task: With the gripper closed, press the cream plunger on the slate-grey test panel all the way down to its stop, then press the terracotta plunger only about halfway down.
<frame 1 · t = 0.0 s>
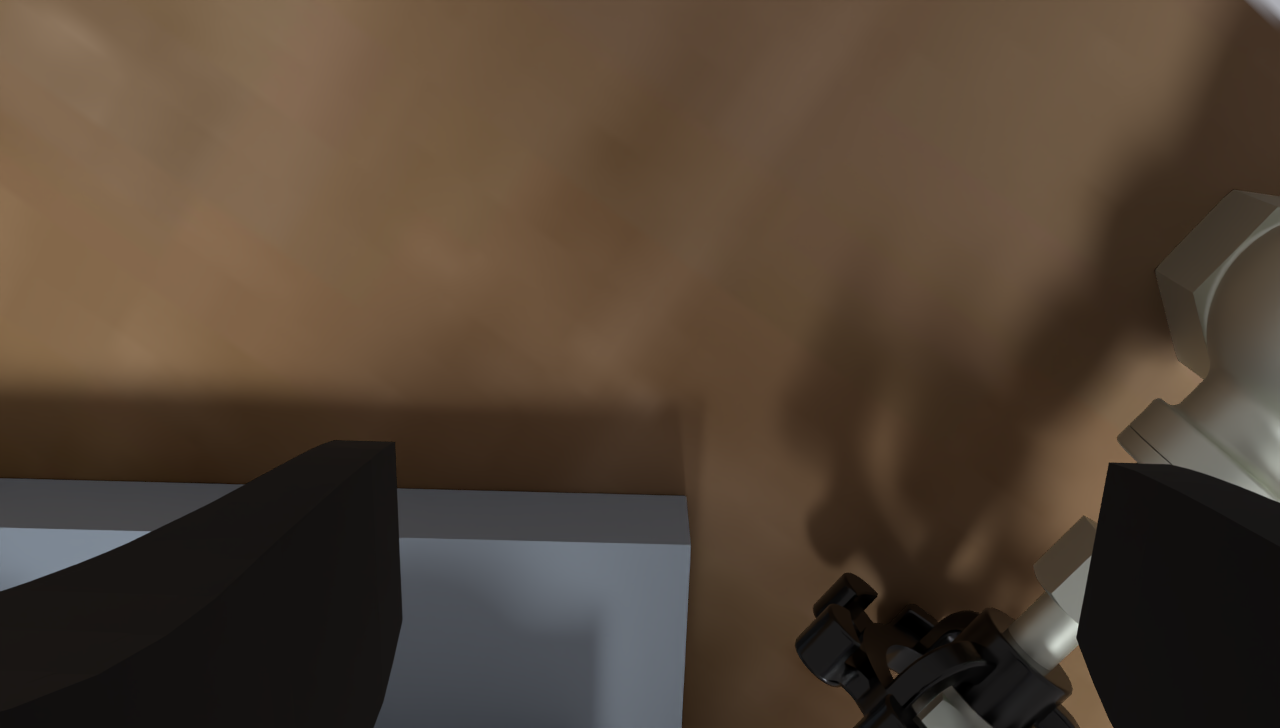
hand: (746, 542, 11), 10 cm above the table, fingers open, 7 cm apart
valve: (1094, 429, 22), on the table
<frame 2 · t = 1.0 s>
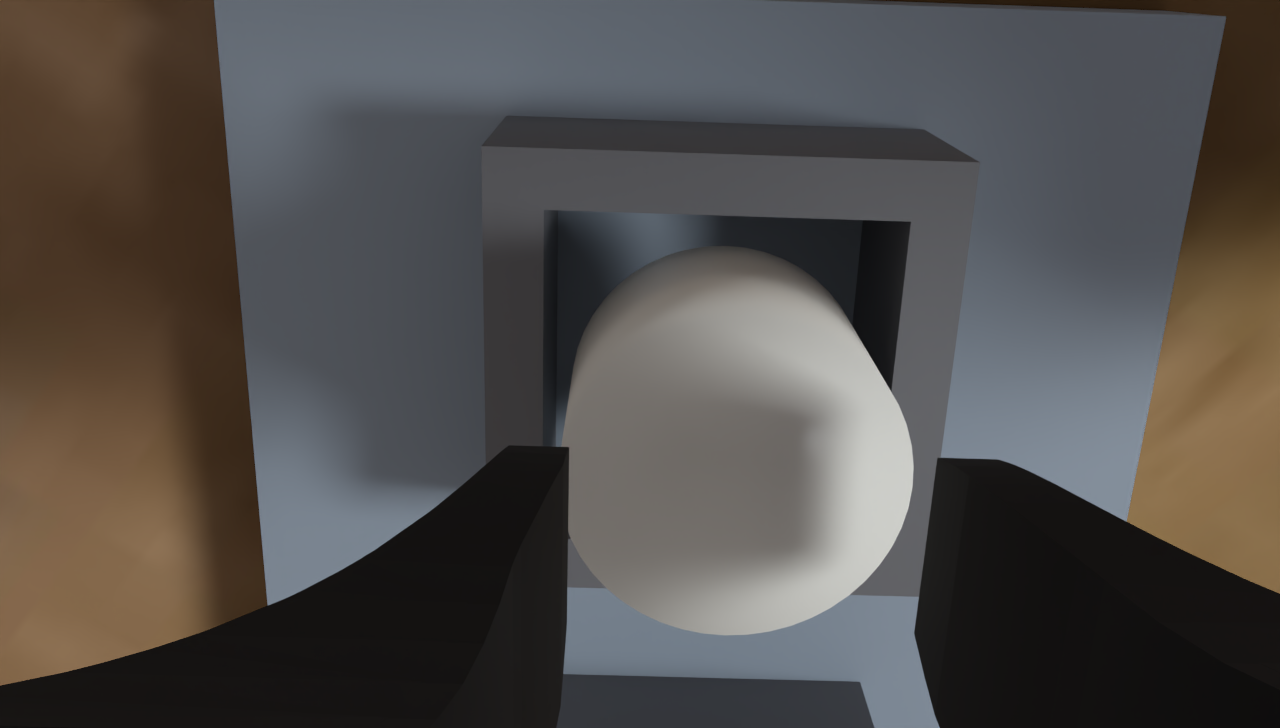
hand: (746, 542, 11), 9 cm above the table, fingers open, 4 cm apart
test panel: (685, 536, 22), on the table
cream plunger: (725, 430, 14), point 7 cm above the table, slide at 0.0 cm
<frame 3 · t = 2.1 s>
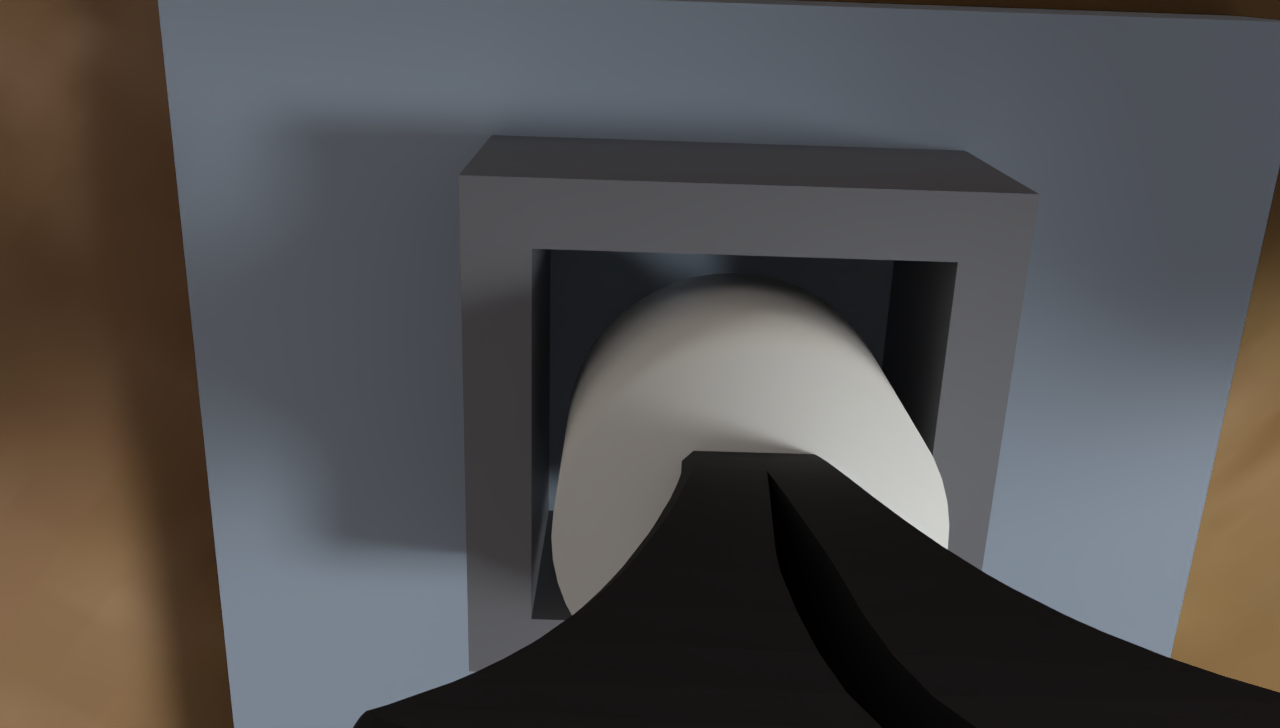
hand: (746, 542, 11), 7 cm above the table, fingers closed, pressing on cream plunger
test panel: (692, 594, 20), on the table
cream plunger: (737, 478, 13), point 6 cm above the table, slide at 0.7 cm, touching gripper
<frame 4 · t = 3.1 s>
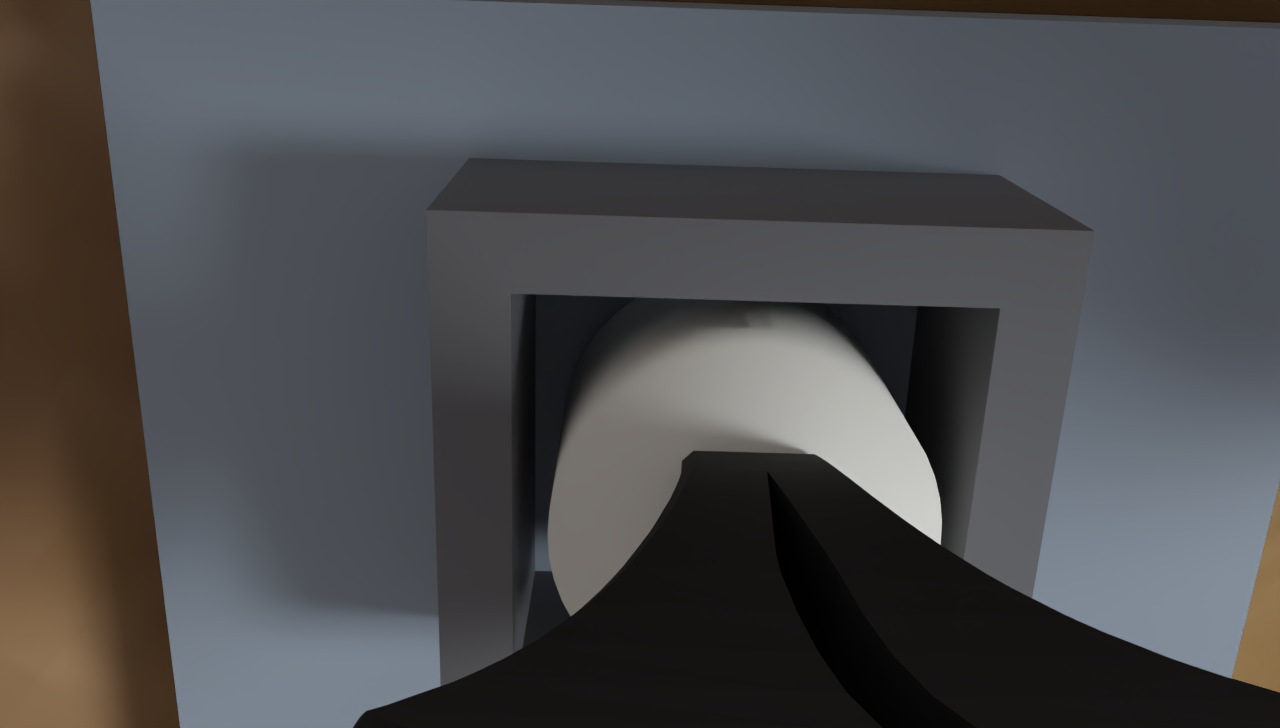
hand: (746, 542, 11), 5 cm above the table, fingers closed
test panel: (693, 653, 18), on the table
cream plunger: (732, 476, 13), point 4 cm above the table, slide at 2.6 cm
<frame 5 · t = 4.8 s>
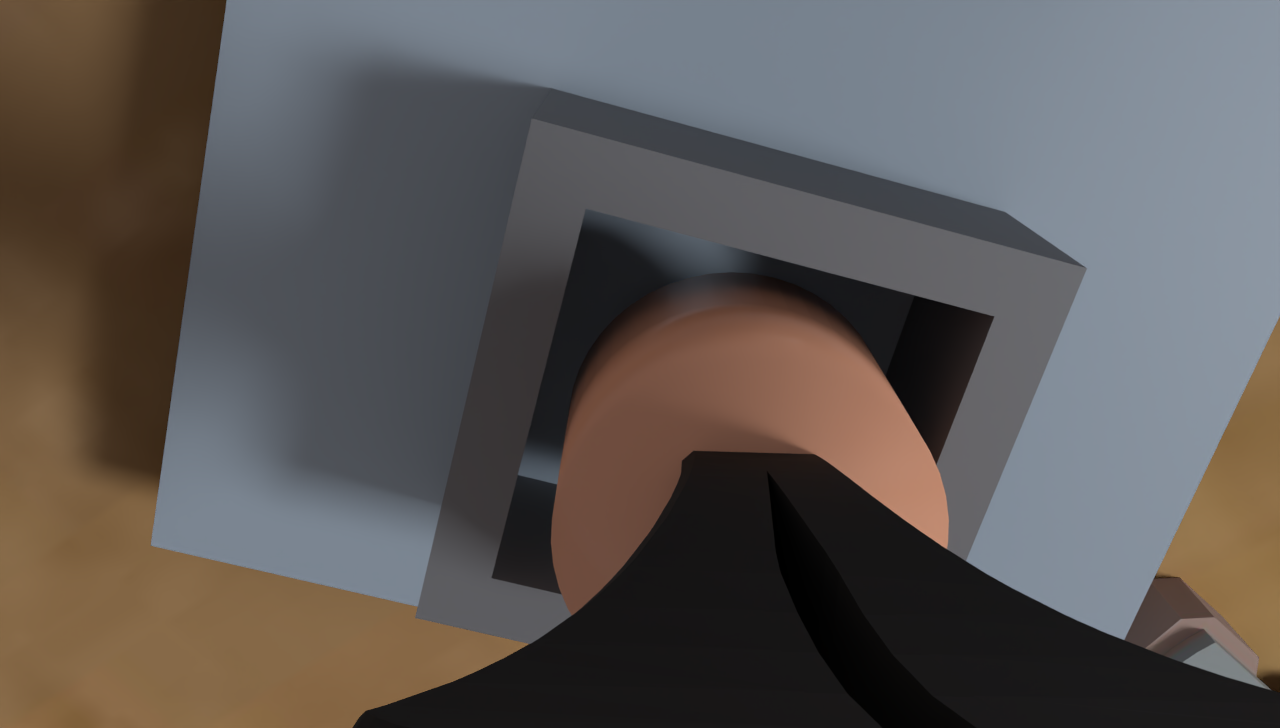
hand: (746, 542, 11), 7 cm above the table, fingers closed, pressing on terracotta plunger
test panel: (803, 9, 17), on the table
terracotta plunger: (737, 478, 13), point 6 cm above the table, slide at 0.8 cm, touching gripper
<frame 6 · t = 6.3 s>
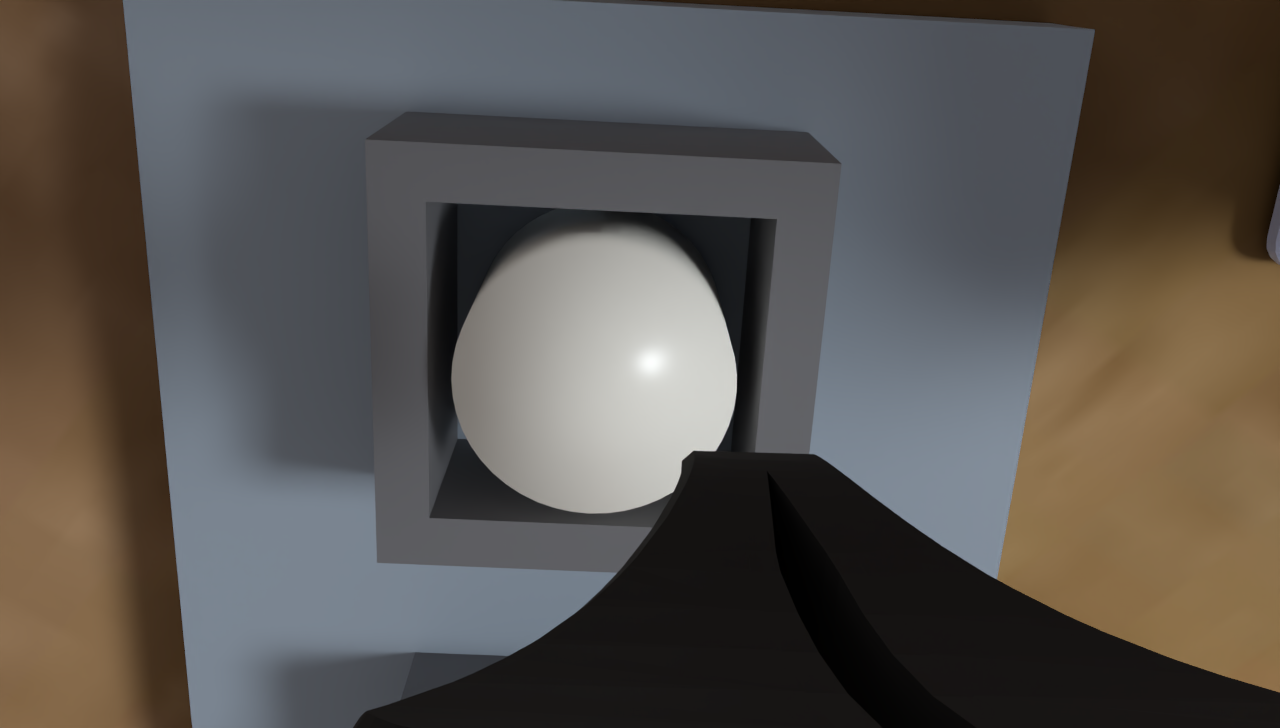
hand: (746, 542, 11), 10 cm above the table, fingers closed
test panel: (592, 523, 23), on the table
cream plunger: (597, 350, 17), point 4 cm above the table, slide at 2.6 cm
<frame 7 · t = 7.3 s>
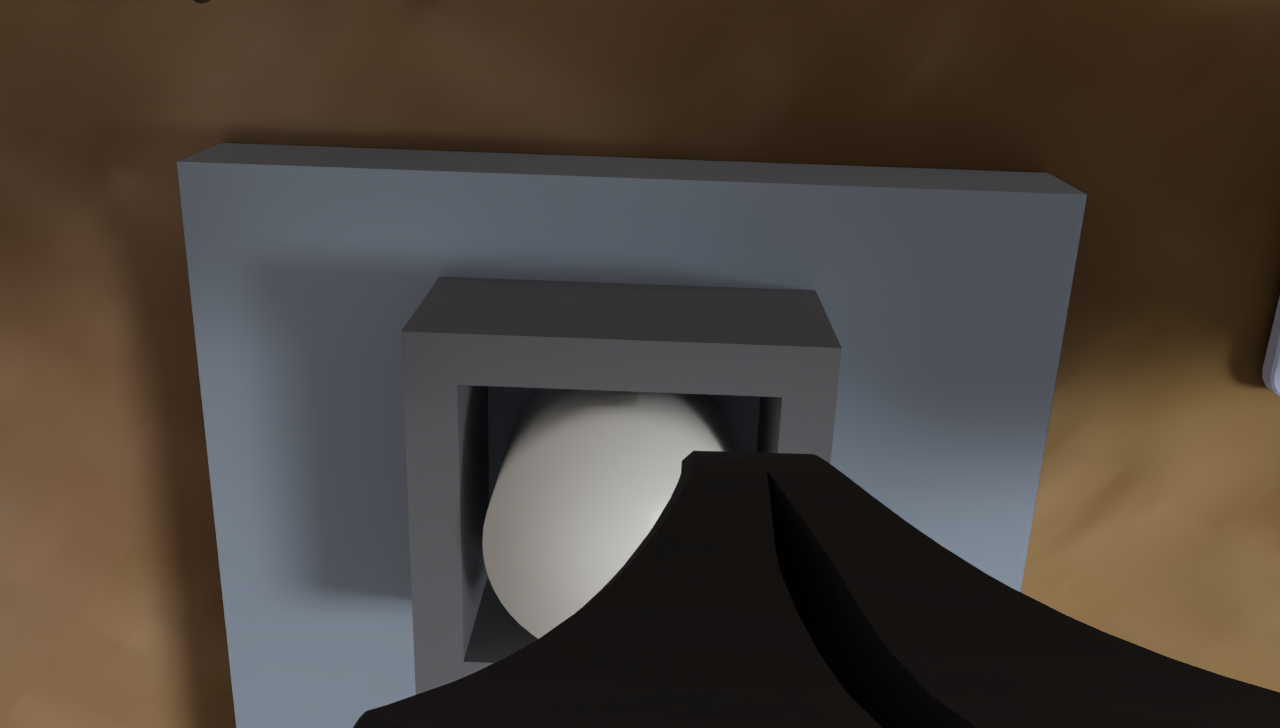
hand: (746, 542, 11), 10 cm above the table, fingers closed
test panel: (618, 632, 24), on the table
cream plunger: (618, 503, 19), point 4 cm above the table, slide at 2.6 cm
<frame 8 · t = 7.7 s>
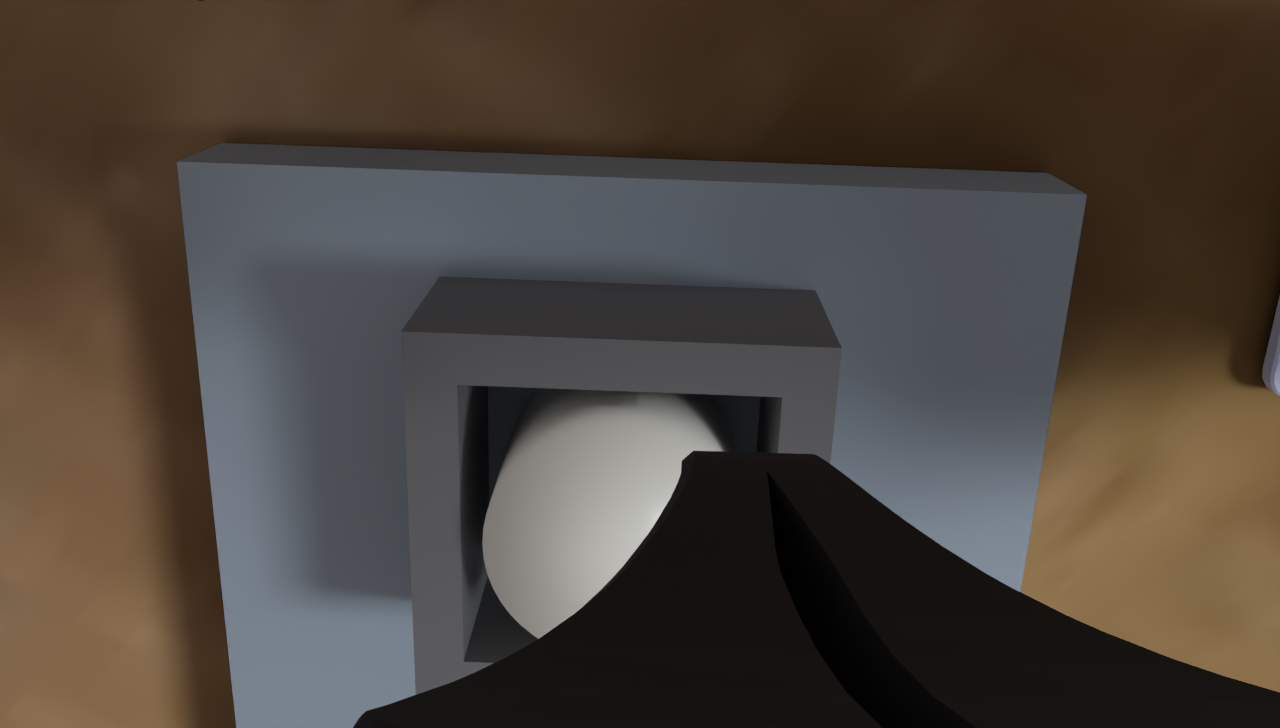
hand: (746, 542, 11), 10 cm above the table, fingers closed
test panel: (618, 632, 24), on the table
cream plunger: (618, 503, 19), point 4 cm above the table, slide at 2.6 cm
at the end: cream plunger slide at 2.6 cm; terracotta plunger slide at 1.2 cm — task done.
